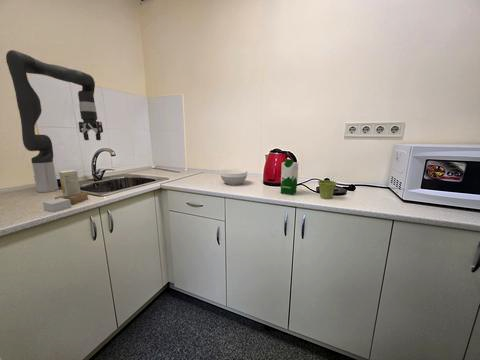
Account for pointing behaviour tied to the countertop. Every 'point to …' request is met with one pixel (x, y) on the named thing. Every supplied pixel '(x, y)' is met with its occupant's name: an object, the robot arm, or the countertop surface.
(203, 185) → the countertop surface
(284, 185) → the milk carton
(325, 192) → the plant pot
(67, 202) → the grey block
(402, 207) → the countertop surface
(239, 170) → the bowl
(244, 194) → the countertop surface
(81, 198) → the walnut block
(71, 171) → the skincare box
